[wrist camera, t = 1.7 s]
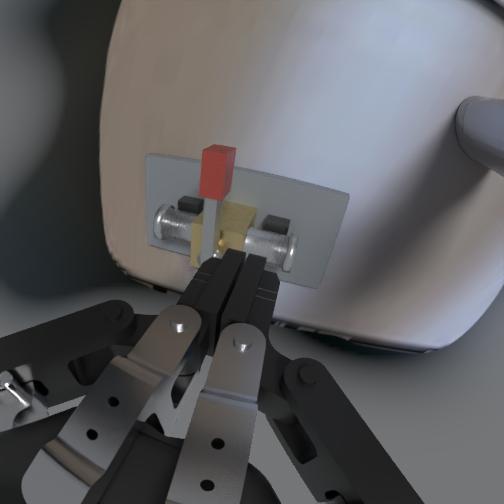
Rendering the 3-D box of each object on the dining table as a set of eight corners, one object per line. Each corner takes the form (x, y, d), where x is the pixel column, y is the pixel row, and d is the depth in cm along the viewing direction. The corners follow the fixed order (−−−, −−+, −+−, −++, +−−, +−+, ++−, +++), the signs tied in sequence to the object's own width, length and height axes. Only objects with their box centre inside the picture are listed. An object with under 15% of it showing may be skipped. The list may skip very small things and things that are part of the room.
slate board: (348, 193, 33) (349, 197, 32) (317, 283, 41) (317, 289, 40) (151, 153, 36) (145, 155, 34) (152, 239, 44) (148, 244, 43)
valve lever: (223, 265, 31) (215, 279, 29) (202, 259, 31) (193, 273, 29) (238, 148, 24) (229, 154, 21) (212, 143, 24) (200, 149, 22)
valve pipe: (302, 218, 35) (297, 248, 28) (291, 256, 38) (285, 290, 32) (175, 190, 36) (147, 212, 30) (174, 227, 40) (149, 253, 34)
